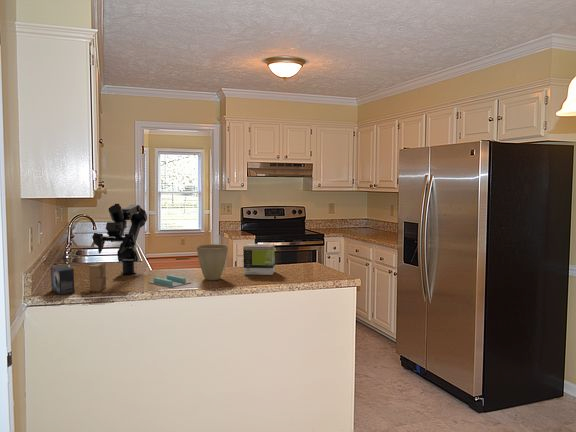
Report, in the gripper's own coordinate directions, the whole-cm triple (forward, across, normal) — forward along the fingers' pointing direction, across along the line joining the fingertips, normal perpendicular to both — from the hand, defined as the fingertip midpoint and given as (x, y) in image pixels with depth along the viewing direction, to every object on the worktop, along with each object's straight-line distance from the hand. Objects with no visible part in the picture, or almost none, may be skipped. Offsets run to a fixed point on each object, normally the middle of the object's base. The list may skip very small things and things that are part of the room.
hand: (109, 253), depth 220 cm
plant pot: (-3, +44, +22) cm, 49 cm away
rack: (+5, +26, +15) cm, 30 cm away
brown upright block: (+15, -2, +7) cm, 17 cm away
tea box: (-14, +66, +30) cm, 74 cm away
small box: (+19, -16, +4) cm, 25 cm away
